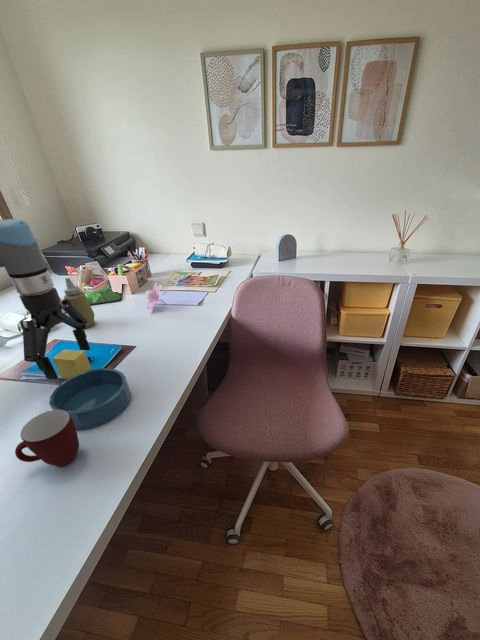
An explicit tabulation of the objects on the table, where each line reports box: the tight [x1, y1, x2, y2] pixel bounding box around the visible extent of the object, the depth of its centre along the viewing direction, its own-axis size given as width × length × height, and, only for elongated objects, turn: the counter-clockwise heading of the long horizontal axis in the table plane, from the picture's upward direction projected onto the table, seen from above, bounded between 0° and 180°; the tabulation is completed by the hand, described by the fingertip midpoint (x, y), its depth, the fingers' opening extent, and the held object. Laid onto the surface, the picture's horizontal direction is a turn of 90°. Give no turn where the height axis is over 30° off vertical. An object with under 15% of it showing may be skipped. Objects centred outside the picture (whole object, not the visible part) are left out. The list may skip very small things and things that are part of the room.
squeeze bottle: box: [63, 277, 95, 329], centre depth 106 cm, size 8×8×18 cm
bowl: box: [48, 367, 132, 431], centre depth 74 cm, size 17×17×5 cm
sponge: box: [51, 349, 93, 380], centre depth 83 cm, size 6×4×7 cm
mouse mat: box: [80, 284, 123, 306], centre depth 136 cm, size 27×22×1 cm
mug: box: [14, 409, 80, 468], centre depth 58 cm, size 11×8×10 cm
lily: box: [145, 282, 167, 314], centre depth 120 cm, size 12×12×10 cm
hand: (70, 362), depth 83 cm, fingers open, 13 cm apart
